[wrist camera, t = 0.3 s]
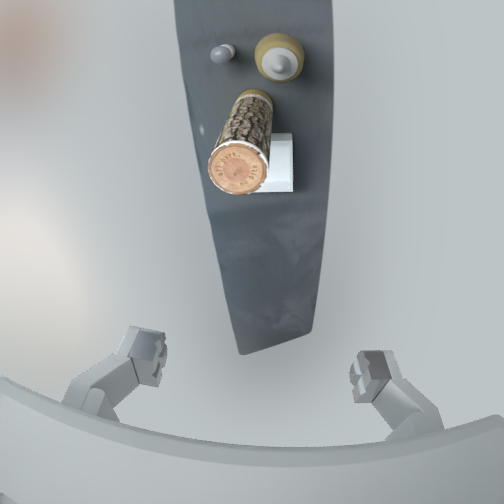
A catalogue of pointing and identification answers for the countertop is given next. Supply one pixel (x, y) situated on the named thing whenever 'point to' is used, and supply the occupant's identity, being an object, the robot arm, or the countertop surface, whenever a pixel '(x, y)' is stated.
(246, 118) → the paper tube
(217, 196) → the countertop surface
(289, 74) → the squeeze bottle
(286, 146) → the tray
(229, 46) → the sample vial
